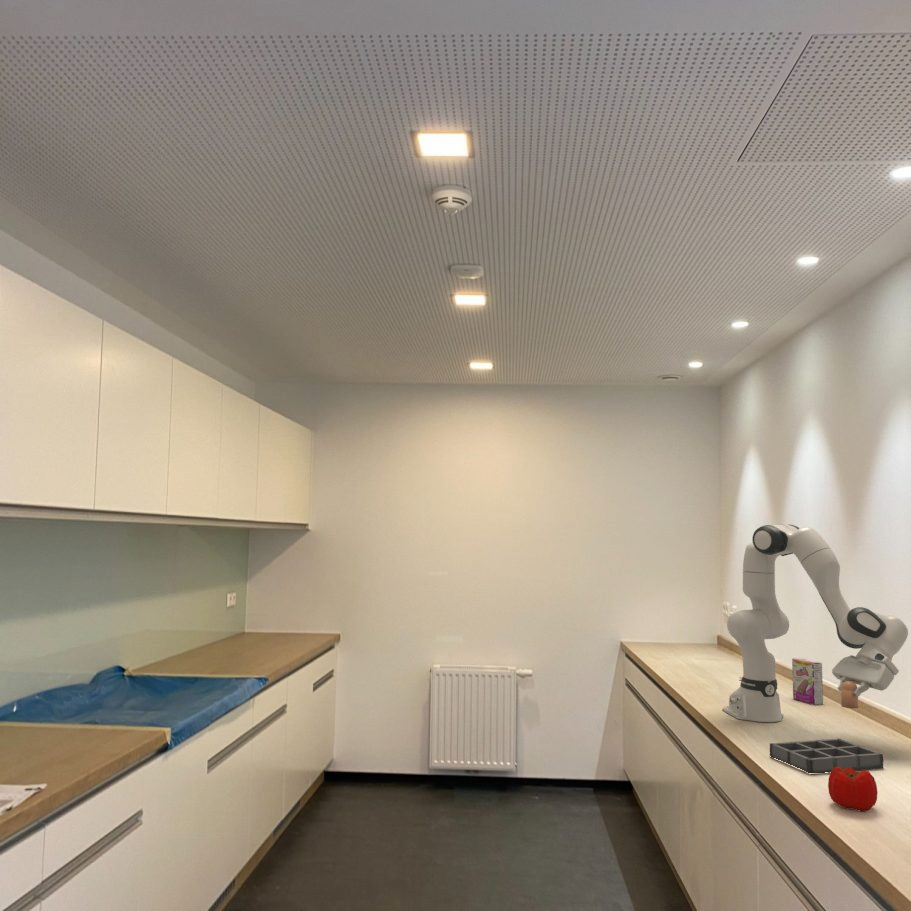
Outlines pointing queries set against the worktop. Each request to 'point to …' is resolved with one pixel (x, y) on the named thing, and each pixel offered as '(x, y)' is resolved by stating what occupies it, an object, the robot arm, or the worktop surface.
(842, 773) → the tomato
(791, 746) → the egg carton
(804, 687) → the candy bar box
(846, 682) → the terracotta egg
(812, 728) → the worktop surface
